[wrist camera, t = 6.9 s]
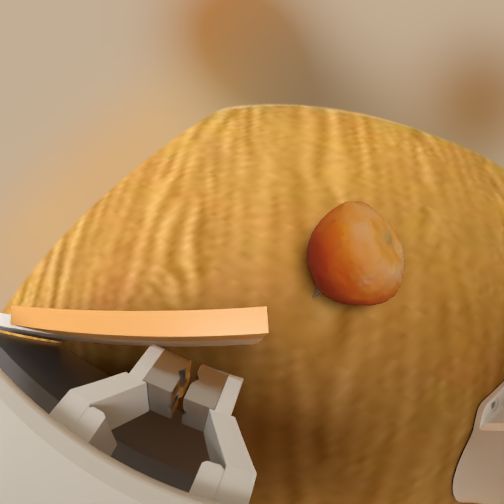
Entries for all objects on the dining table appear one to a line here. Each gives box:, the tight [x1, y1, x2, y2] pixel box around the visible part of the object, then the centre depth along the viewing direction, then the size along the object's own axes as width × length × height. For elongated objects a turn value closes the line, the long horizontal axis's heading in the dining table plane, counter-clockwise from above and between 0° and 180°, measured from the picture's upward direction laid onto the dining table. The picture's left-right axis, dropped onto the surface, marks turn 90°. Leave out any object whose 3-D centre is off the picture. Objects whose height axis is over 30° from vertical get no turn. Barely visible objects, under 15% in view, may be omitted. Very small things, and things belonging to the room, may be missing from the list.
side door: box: [0, 306, 269, 347], centre depth 14 cm, size 19×1×14 cm, turn 94°
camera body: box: [0, 333, 210, 493], centre depth 12 cm, size 20×12×11 cm, turn 71°
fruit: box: [307, 202, 405, 305], centre depth 20 cm, size 8×8×8 cm
